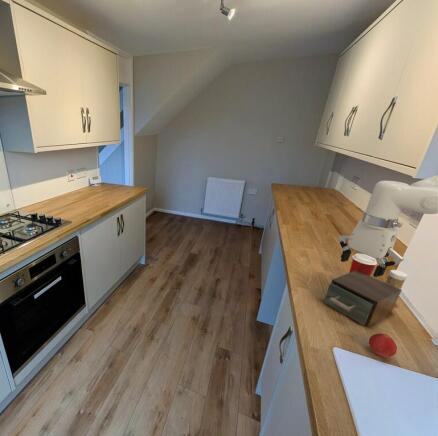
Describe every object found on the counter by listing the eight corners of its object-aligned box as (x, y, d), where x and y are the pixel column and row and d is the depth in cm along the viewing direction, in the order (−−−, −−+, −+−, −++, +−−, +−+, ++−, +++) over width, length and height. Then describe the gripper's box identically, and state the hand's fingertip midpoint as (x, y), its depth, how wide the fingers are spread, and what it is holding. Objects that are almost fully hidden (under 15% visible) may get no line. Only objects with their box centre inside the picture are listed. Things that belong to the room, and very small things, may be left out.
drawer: (355, 329, 78) (363, 309, 75) (316, 305, 88) (321, 286, 86) (385, 312, 85) (393, 293, 82) (345, 292, 96) (352, 274, 93)
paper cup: (369, 288, 101) (381, 259, 96) (362, 293, 97) (373, 263, 92) (347, 278, 107) (357, 251, 102) (339, 283, 103) (349, 255, 98)
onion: (360, 349, 72) (369, 329, 69) (372, 344, 74) (381, 323, 71) (384, 366, 67) (394, 344, 64) (396, 359, 69) (406, 338, 66)
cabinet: (367, 326, 80) (378, 302, 77) (324, 301, 92) (332, 279, 88) (391, 313, 86) (401, 289, 83) (348, 291, 98) (355, 270, 95)
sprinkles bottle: (391, 307, 89) (405, 277, 85) (376, 300, 93) (388, 271, 88) (395, 303, 91) (409, 273, 87) (380, 297, 95) (392, 268, 90)
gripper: (423, 230, 68) (398, 280, 74) (355, 211, 83) (339, 254, 89) (408, 233, 65) (384, 285, 71) (341, 213, 80) (326, 257, 86)
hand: (359, 268), depth 80 cm, fingers open, 9 cm apart
